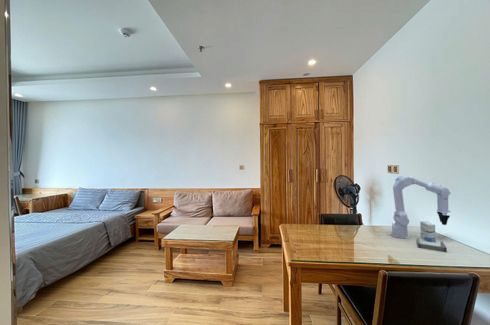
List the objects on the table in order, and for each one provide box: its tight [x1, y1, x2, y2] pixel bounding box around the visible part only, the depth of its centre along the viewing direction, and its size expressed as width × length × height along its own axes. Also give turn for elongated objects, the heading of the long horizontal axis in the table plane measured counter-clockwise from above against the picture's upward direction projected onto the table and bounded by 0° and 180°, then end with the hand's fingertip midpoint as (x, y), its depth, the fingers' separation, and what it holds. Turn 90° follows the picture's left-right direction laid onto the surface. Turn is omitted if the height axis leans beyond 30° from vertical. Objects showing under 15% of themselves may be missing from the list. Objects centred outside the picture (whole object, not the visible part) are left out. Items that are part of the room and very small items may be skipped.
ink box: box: [419, 220, 437, 243], centre depth 150 cm, size 8×5×12 cm, turn 168°
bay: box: [416, 237, 448, 253], centre depth 138 cm, size 13×12×2 cm
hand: (443, 223), depth 152 cm, fingers open, 7 cm apart
